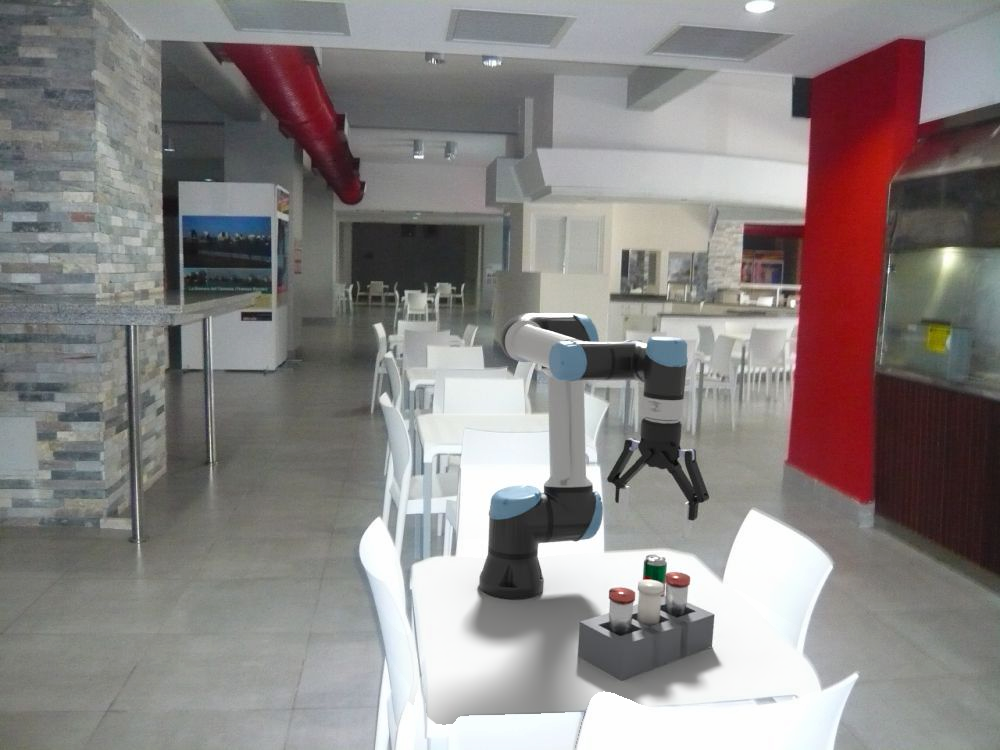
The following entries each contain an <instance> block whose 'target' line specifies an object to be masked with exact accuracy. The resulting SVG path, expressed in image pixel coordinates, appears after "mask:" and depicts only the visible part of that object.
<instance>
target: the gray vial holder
mask: <svg viewBox="0 0 1000 750" xmlns="http://www.w3.org/2000/svg"><path fill="white" fill-rule="evenodd" d="M664 607H665V596H664V597H661V607H660V621H659V624H656V625H653V626H650V627H649V626H647V625H645V624H643V623H640V622H638V621H637V613H638V603H637V604H633V612H632V627H631V633H629V634H626V635H623V636H619V635H617V634H615V633H613V632H611V631H609V630H608V626H609V612H608V613H605V614H601V615H598V616H594V617H591V618H588V619H584V620H580V621H579V629H578V632H579V633H578V645H577V646H578V647H577V656H578V657H580V658H581V659H583V660H585V661H586V662H588V663H590V664H592V665H594V666H595V667H597V668H598V669H600V670H602V671H604V672H606V673H608V674H609V675H611V676H613V677H615V678H617V679H618V680H620V681H624V680H627V679H629V678H632V677H635V676H638V675H641V674H644V673H645V672H648V671H649V672H650V671H651V670H653V669H656V668H659V667H662V666H665V665H668V664H670V663H673V662H675V661H678V660H681V659H683V658H686V657H688V656H689V657H690V656H692V655H694V654H697V653H699V652H702V651H704V650H707V649H711V648H712V647H713V638H714V628H715V627H714V626H715V625H714V624H715V613H712V612H710V611H708V610H705V609H704V608H701V607H699V606H697V605H694V604H692V603H689V602H687V609H686V615H684V616H681V617H677V618H676V617H674V616H672V615H670V614H668V613H665V612H664Z"/></svg>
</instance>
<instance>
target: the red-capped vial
mask: <svg viewBox="0 0 1000 750" xmlns="http://www.w3.org/2000/svg"><path fill="white" fill-rule="evenodd" d="M608 599H609V612H608V613H609V626H608V630H609V631H611V632H613V633H615V634H617V635H619V636H623V635H626V634H629V633H631V627H632V612H633V606H634V603H635V601H636V592H635V591H634V590H633V589H630V588H626V587H612V588H610V589H609V591H608Z"/></svg>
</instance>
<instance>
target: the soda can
mask: <svg viewBox="0 0 1000 750" xmlns="http://www.w3.org/2000/svg"><path fill="white" fill-rule="evenodd" d="M667 566H668V563H667V560H666V557H664V556H663V555H660V554H648V555H646V556H645V559H644V561H643V569H642V571H643V572H642V580H655V581H659V582H661V583H662V584H663V585H664V587H663V593H662V594H661V597H664V596H665V593H666V582H665V575H666V574H667V569H668V568H667Z"/></svg>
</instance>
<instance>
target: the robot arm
mask: <svg viewBox="0 0 1000 750" xmlns="http://www.w3.org/2000/svg"><path fill="white" fill-rule="evenodd" d="M599 340H600V339H599V334H598V330H597V327H596V325H595V323H594V322H593V320H592V319H591V318H590V317H589V316H587V315H586V314H580V313H573V312H568V313H567V312H566V313H565V312H564V313H562V312H560V313H559V312H558V313H557V312H556V313H555V312H554V313H553V312H549V313H548V312H544V313H543V312H526V313H522V314H517V316H514V317H512V318H510V319H509V320H508V321H507V322H506V323H505V324H504V326H503V327H502V329H501V332H500V335H499V343H500V346H501V349H502V351H503V353H504V354H506V356H507V357H509V358H510V359H513V360H515V361H517V362H520V363H528V362H529V363H534V364H537V365H539V366H541V371H542V372H543V373H544V375H546V377H547V392H548V393H547V395H548V396H547V397H548V435H549V436H548V443H549V445H548V447H549V448H548V449H549V478H548V479H547V480H546V481H545V482H544V483H543V492H541V490H540V489H539V488H538V487H536V486H532V485H513V486H506V487H504V488H501V489H499V490H497V491H495V493H493V494H492V496H491V498H490V502H489V503H490V506H489V509H488V516H489V519H488V520H489V521H488V522H489V523H488V545H487V556H486V558H485V561H484V565H483V568H482V571H481V572H480V574H479V580H478V581H479V582H478V583H479V584H478V586H479V589H480V590H481V591H482V592H484V593H486V594H488V595H490V596H493V597H495V598H496V597H498V598H502V599H510V600H512V599H514V600H516V599H517V600H518V599H519V600H521V599H527V598H533V597H536V596H539V595H540V594H541V593H542V592H543V590H544V585H545V584H544V583H545V582H544V580H545V579H544V576H543V572H542V568H541V564H540V561H539V557H538V555H539V554H538V551H539V550H538V549H539V544H544V543H545V544H548V543H557V542H558V543H559V542H570V541H571V542H579V541H583V540H584V541H585V540H589V539H592V538H593V537H595V536H596V535H597V533H598V531H599V530H600V529H601V525H602V521H603V514H604V505H603V501H601V500H602V497H601V495H600V493H599V492H598V491H596V490H595V489H594V487H593V484H594V483H593V482H592V481H591V480H589V478H588V477H587V467H586V466H587V463H586V462H587V461H586V460H587V459H586V458H587V456H586V454H587V453H586V419H585V417H586V416H585V381H639V382H642V383H643V395H642V396H643V400H642V410H641V412H642V413H641V416H643V417H644V418H642V420H641V423H640V440H637V439H636V437H631V438H628V439H625V441H624V444H623V450H622V452H621V453H620V455H619V456H618V458H617V461H616V462H615V464H614V465H613V468H612V469H611V471H610V473H608V474H609V475H608V476H607V478H606V480H607V482H608V483H611V484H613V485H614V486H615V493H614V494H615V496H614V501H615V503H617V505H618V507H617V509H618V510H617V522H623V521H626V520H627V519H628V516H629V515H628V514H629V501H630V486H629V485H628V483H629V482H630V481H631V480H632V479H633V478H634V477H635V476H636V475H637V474H638V473H639V472H640V471H641V470H642V469H643V468H644V467H645V466H646V465H647V466H648V467H649V468H658V469H659V470H665V469H666V470H667V471H668V473H669V474H671V477H673V479H674V481H675V483H676V484H677V486H678V487H679V489H680V490H681V492H682V493H683V495H684V497H685V499H686V500H687V501H686V502H684V505H683V515H682V516H683V517H682V529H681V531H682V532H681V538H688V537H689V536H691V535H692V532H693V522H694V521H696V520H697V518H698V514H699V504H700V503H704V502H706V501H708V500H710V494H709V492H708V489H707V486H706V484H705V481H704V478H703V476H702V473H701V470H700V467H699V465H698V461H697V450H696V449H695V448H691V449H681V439H682V428H683V427H682V425H683V424H682V421H681V420H682V419H683V418H684V417H683V415H684V395H685V389H686V388H685V387H686V379H687V378H686V377H687V366H688V344H687V341H686V340H685V339H683V338H679V337H672V336H651V337H649V338H648V340H647V342H645V341H643V340H639V339H638V340H637V339H626V340H623V341H599ZM637 449H638V450H639V453H640V455H641V456H640V457H639V458H638V459H636V460H635V463H633V464H632V466H630V467H629V468H628V469H627V471H625V472H624V474H622V473H623V471H624V470H625V469H626V466H627V465H628V463H629V461H630V459H631V457H633V454H634V453H635V451H636V450H637ZM679 458H682V461H683V462H684V463H685V464H684V465H685V467H686V471H687V473H688V476H689V478H688V476H687V475H686V473H685V472H684V470H683V467H682V465H681V463H680V461H679V460H678V459H679ZM689 479H690V480H689ZM627 485H628V486H627Z"/></svg>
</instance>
